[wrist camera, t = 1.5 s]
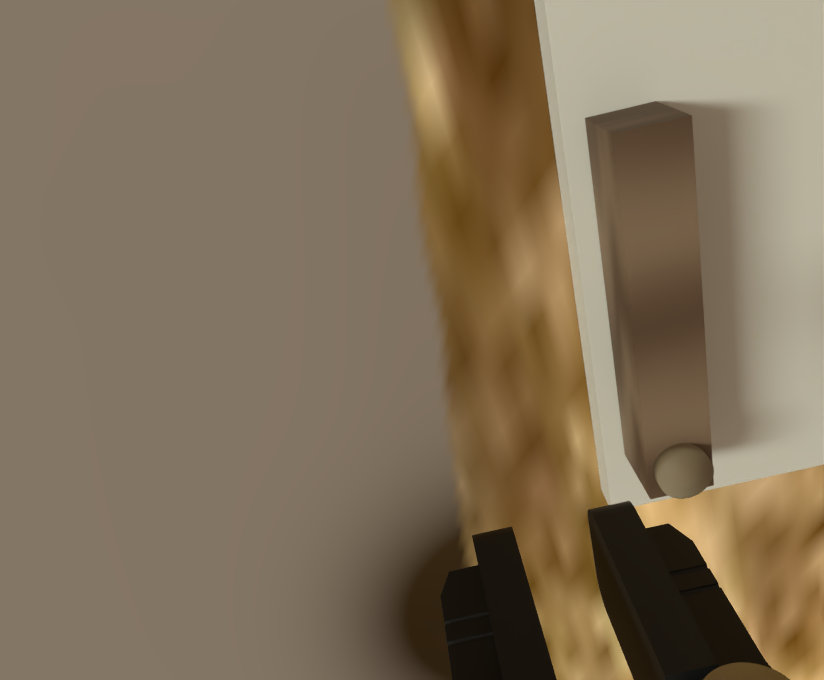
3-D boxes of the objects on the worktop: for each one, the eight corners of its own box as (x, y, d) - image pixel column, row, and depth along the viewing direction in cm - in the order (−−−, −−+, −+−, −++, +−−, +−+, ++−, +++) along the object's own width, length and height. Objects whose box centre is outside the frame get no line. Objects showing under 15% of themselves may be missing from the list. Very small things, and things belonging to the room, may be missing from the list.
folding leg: (682, 441, 31) (720, 495, 28) (624, 454, 31) (656, 509, 28) (656, 101, 25) (700, 118, 22) (584, 118, 26) (618, 137, 22)
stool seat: (531, -23, 25) (541, -23, 24) (989, -134, 25) (1026, -141, 23) (601, 490, 34) (611, 511, 33) (939, 415, 34) (963, 433, 32)
